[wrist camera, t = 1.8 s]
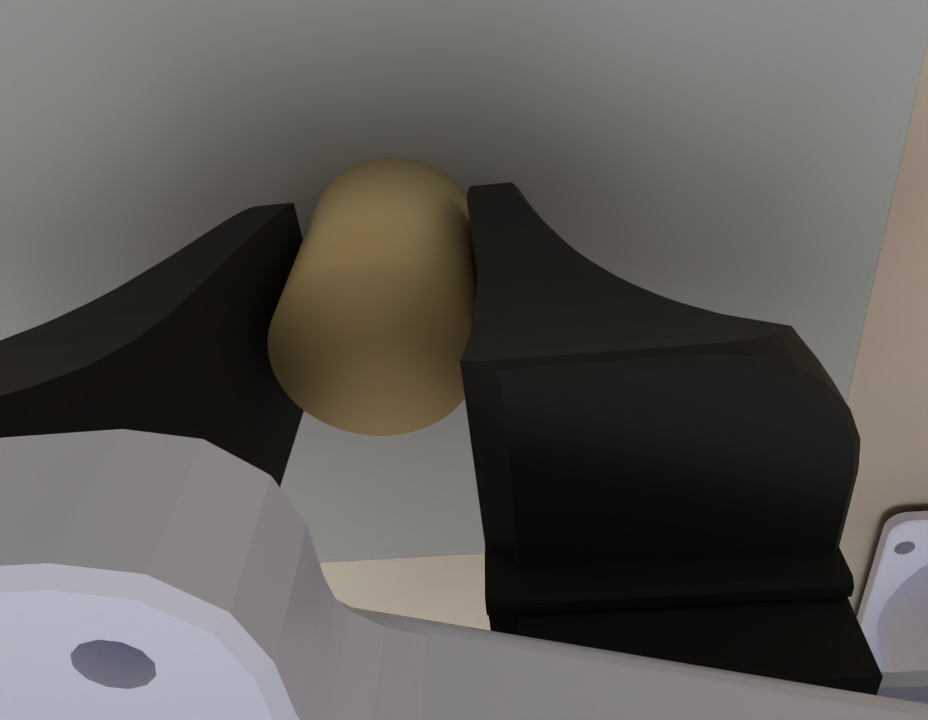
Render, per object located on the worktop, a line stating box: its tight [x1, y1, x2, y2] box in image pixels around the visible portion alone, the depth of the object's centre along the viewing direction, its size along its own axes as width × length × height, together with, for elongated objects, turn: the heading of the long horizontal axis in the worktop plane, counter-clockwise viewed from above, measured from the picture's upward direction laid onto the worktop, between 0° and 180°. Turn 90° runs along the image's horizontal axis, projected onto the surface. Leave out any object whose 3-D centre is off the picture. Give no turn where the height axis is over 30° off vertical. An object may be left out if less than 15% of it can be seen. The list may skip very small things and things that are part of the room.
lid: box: [0, 0, 928, 563], centre depth 11 cm, size 15×15×4 cm
